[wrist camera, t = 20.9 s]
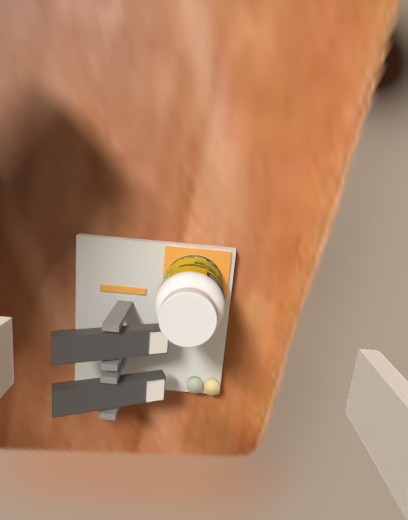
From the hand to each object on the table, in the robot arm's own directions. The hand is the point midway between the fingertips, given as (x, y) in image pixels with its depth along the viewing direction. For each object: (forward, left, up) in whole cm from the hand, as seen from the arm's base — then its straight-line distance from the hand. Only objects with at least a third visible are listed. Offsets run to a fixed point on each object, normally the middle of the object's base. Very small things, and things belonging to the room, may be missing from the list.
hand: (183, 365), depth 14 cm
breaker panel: (-5, -10, -27) cm, 29 cm away
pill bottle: (0, -4, -25) cm, 26 cm away
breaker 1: (-8, -10, -20) cm, 24 cm away
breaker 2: (-8, -16, -20) cm, 27 cm away
